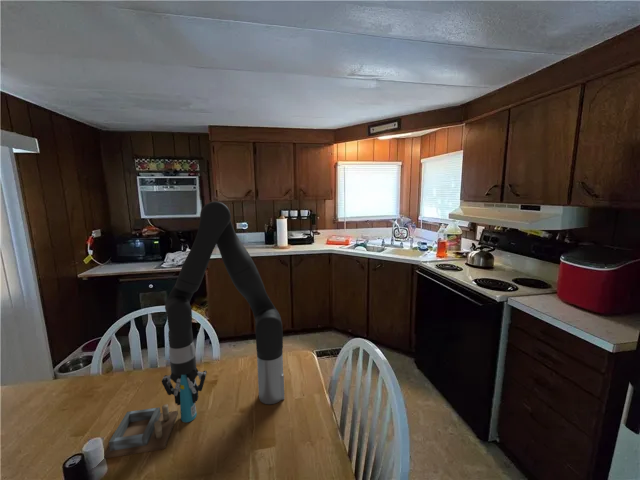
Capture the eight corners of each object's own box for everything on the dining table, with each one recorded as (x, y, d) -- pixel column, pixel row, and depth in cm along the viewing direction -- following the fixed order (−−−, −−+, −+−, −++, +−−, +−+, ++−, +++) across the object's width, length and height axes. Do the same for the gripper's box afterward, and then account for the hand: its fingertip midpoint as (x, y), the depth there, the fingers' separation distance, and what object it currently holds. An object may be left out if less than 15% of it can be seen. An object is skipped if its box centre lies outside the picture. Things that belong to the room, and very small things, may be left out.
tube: (181, 411, 101) (176, 361, 98) (196, 407, 103) (192, 358, 100) (180, 427, 95) (175, 374, 91) (196, 423, 96) (191, 370, 93)
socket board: (177, 413, 101) (176, 397, 99) (164, 448, 87) (162, 430, 86) (126, 421, 98) (124, 404, 96) (104, 458, 84) (101, 439, 83)
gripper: (207, 347, 100) (211, 392, 103) (162, 352, 97) (167, 397, 100) (203, 359, 93) (207, 407, 96) (154, 365, 90) (160, 414, 93)
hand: (187, 402), depth 98 cm, fingers closed on tube, 4 cm apart
